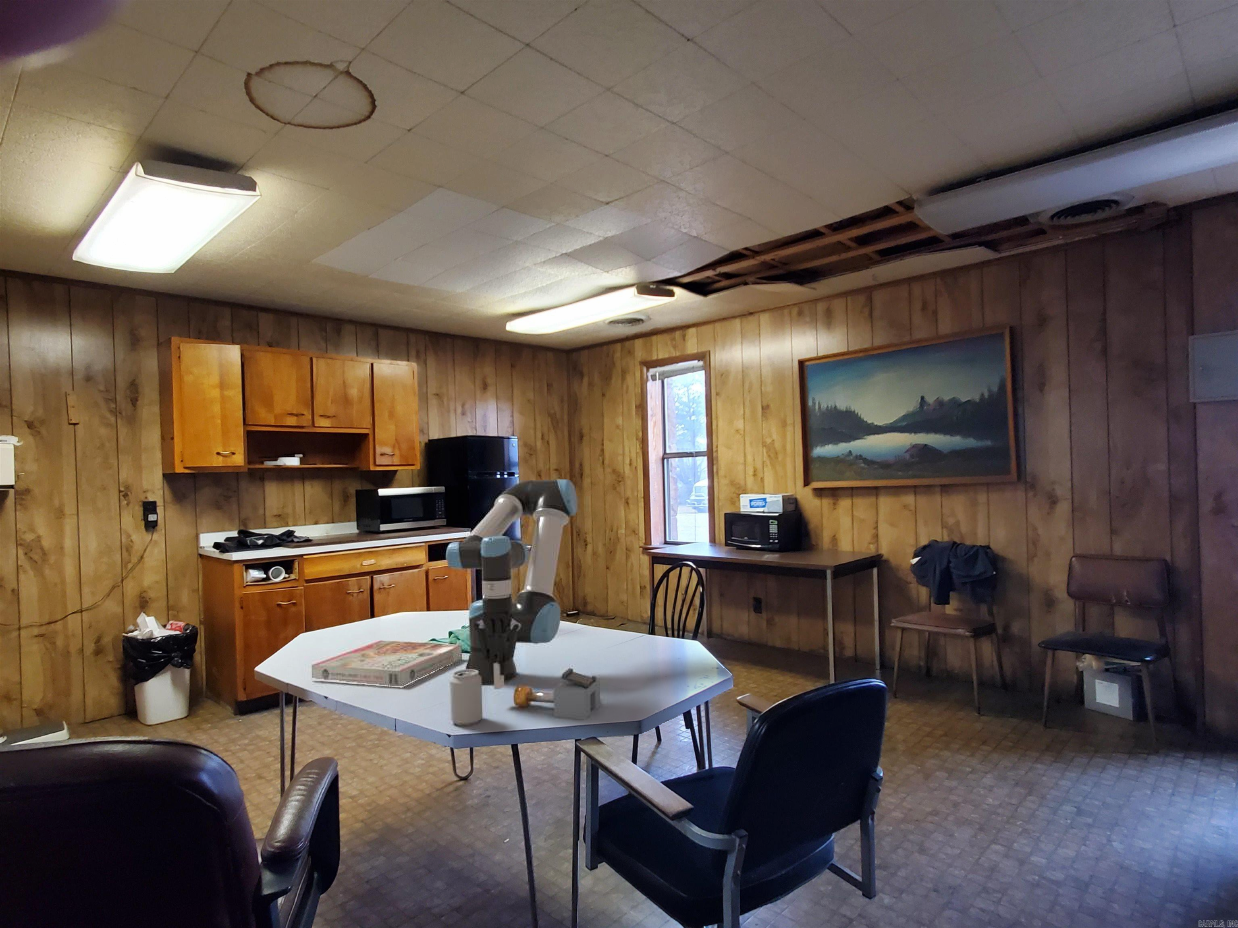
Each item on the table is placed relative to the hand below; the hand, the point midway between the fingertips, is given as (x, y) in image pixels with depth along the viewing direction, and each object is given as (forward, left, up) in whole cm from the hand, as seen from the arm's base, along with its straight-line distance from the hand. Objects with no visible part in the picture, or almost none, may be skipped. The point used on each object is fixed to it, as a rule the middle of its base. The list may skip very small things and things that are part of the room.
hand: (499, 687), depth 181 cm
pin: (+11, 0, -5) cm, 12 cm away
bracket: (+21, 0, -5) cm, 22 cm away
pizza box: (-51, +25, -5) cm, 57 cm away
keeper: (+22, 0, +3) cm, 22 cm away
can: (-3, -13, -5) cm, 14 cm away
